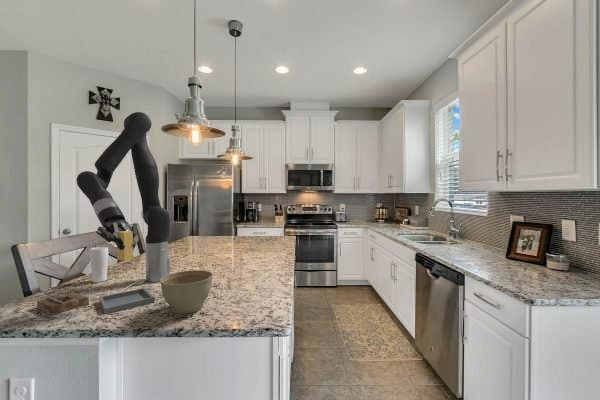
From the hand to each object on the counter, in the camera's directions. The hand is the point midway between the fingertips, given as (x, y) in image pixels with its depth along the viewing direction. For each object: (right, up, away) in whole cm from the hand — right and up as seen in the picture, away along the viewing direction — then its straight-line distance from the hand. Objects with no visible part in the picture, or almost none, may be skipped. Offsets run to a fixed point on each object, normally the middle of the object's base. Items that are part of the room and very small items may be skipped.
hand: (128, 247), depth 97 cm
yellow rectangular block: (-2, -4, +1) cm, 5 cm away
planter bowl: (+23, -20, -5) cm, 31 cm away
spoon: (-10, -21, +16) cm, 28 cm away
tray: (-1, -20, +1) cm, 20 cm away
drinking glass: (-30, -20, +27) cm, 46 cm away
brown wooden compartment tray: (-21, -20, -2) cm, 29 cm away
